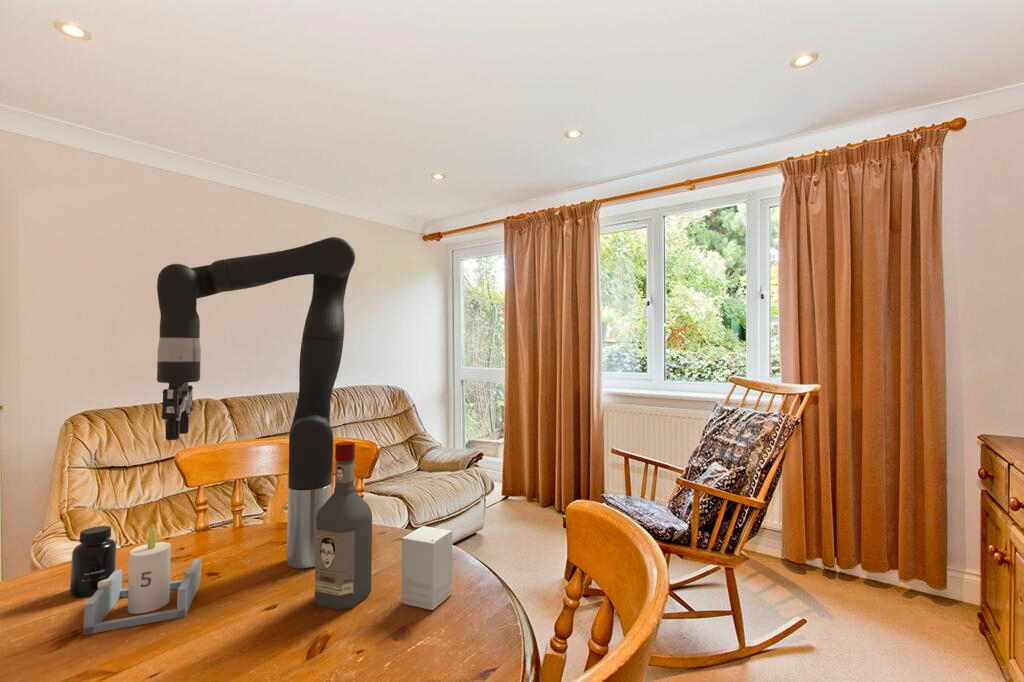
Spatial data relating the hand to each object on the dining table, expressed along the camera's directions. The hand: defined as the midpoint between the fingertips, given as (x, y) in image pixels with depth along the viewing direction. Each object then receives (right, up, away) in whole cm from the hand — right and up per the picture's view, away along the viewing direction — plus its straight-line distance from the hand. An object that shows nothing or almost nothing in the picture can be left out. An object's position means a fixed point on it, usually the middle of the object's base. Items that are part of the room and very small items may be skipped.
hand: (177, 436), depth 101 cm
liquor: (+38, -30, -7) cm, 49 cm away
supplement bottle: (-14, -30, -5) cm, 33 cm away
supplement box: (+54, -30, -8) cm, 63 cm away
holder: (+2, -30, -11) cm, 32 cm away
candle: (+2, -30, -10) cm, 32 cm away
